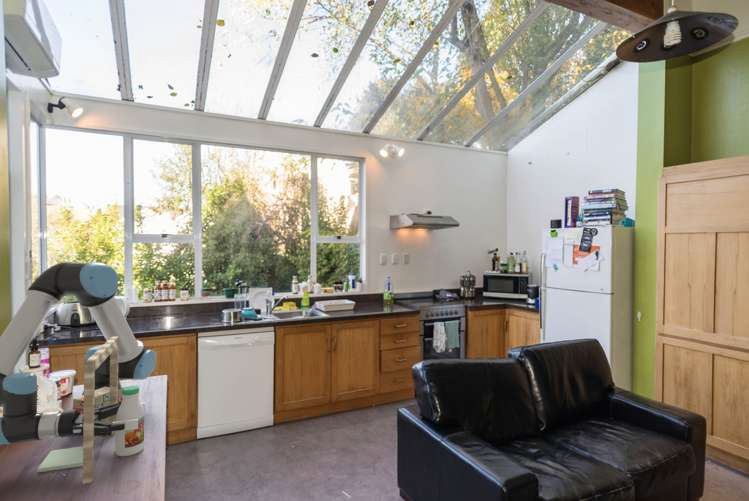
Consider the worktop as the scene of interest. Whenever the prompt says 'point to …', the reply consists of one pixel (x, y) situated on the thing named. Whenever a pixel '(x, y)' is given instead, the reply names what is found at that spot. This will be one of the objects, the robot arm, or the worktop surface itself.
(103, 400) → the stack of blocks
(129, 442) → the milk bottle
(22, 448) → the worktop surface
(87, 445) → the door frame
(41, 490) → the worktop surface
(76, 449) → the sage mat
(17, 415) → the robot arm
